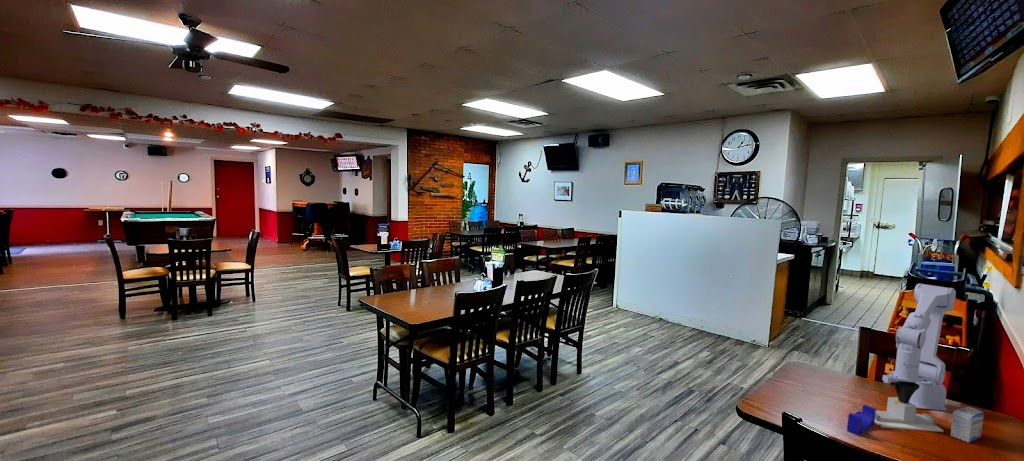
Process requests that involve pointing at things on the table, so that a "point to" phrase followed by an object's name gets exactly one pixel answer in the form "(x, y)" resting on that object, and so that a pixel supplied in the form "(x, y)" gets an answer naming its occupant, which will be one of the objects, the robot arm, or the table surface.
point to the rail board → (907, 422)
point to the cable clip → (861, 420)
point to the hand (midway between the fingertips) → (903, 402)
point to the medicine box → (967, 424)
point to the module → (901, 409)
